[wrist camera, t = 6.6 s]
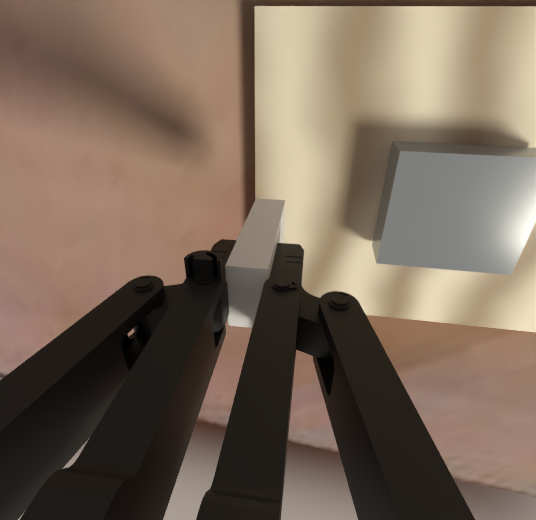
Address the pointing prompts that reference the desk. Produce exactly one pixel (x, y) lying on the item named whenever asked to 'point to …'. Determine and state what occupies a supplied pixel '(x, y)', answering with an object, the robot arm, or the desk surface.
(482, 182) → the tile
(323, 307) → the robot arm
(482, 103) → the board
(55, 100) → the desk surface
